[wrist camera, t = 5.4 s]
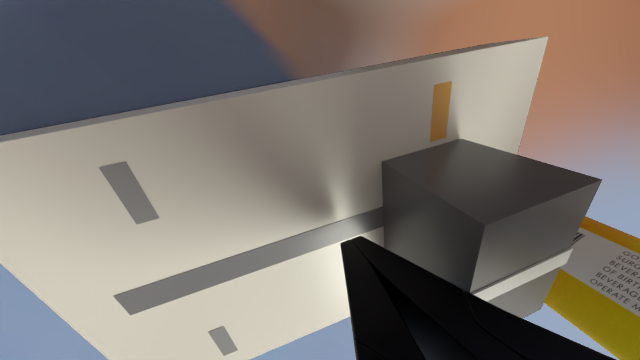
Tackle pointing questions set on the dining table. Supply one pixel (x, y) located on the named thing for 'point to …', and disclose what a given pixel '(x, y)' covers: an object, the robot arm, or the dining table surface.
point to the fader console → (237, 199)
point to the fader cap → (485, 219)
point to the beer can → (602, 288)
